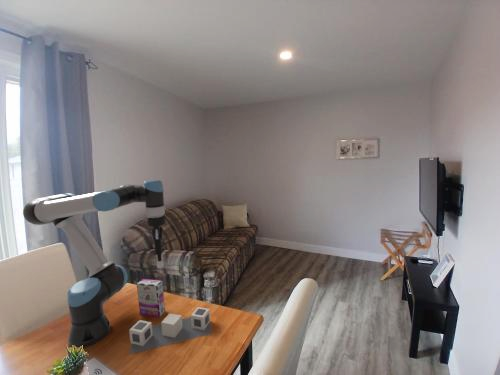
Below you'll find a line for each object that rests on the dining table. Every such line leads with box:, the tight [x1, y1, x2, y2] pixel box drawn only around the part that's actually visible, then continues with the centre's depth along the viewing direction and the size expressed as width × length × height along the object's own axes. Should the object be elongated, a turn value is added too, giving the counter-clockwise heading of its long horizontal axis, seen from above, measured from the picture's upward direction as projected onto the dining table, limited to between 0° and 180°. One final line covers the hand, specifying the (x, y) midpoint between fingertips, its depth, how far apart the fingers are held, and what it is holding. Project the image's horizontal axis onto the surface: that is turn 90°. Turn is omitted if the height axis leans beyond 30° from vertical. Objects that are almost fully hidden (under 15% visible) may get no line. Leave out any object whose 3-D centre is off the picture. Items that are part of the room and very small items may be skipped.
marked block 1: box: [129, 319, 153, 346], centre depth 102 cm, size 6×6×6 cm
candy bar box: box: [136, 278, 166, 318], centre depth 118 cm, size 11×5×16 cm, turn 76°
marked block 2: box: [190, 306, 211, 330], centre depth 109 cm, size 6×6×6 cm
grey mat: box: [129, 316, 213, 355], centre depth 106 cm, size 32×14×1 cm, turn 108°
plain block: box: [160, 312, 183, 338], centre depth 106 cm, size 6×6×6 cm
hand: (160, 266), depth 110 cm, fingers closed
